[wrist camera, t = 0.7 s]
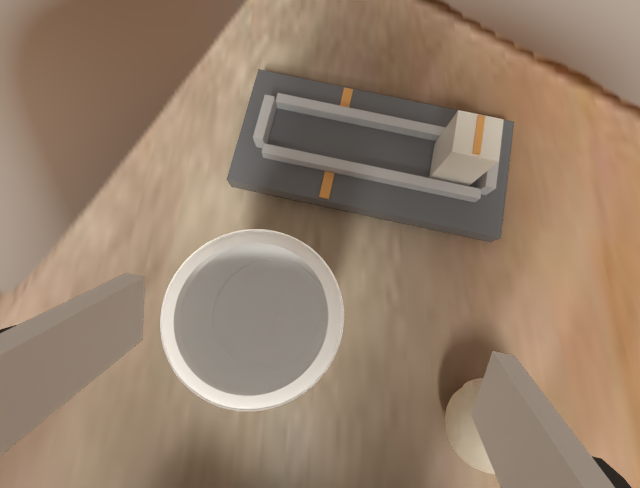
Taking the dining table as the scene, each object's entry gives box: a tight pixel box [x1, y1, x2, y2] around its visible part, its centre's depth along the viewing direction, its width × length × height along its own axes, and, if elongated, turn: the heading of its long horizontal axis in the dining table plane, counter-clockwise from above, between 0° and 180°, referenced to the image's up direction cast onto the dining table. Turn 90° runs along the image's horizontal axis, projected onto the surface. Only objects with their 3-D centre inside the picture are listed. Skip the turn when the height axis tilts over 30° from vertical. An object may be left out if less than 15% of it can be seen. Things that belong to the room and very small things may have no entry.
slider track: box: [227, 69, 514, 242], centre depth 36 cm, size 13×28×4 cm, turn 78°
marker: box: [319, 87, 353, 199], centre depth 36 cm, size 13×1×1 cm, turn 168°
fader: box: [429, 110, 504, 186], centre depth 32 cm, size 4×4×6 cm
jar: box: [160, 229, 344, 412], centre depth 27 cm, size 11×10×15 cm
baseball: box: [445, 378, 496, 475], centre depth 30 cm, size 7×7×7 cm
